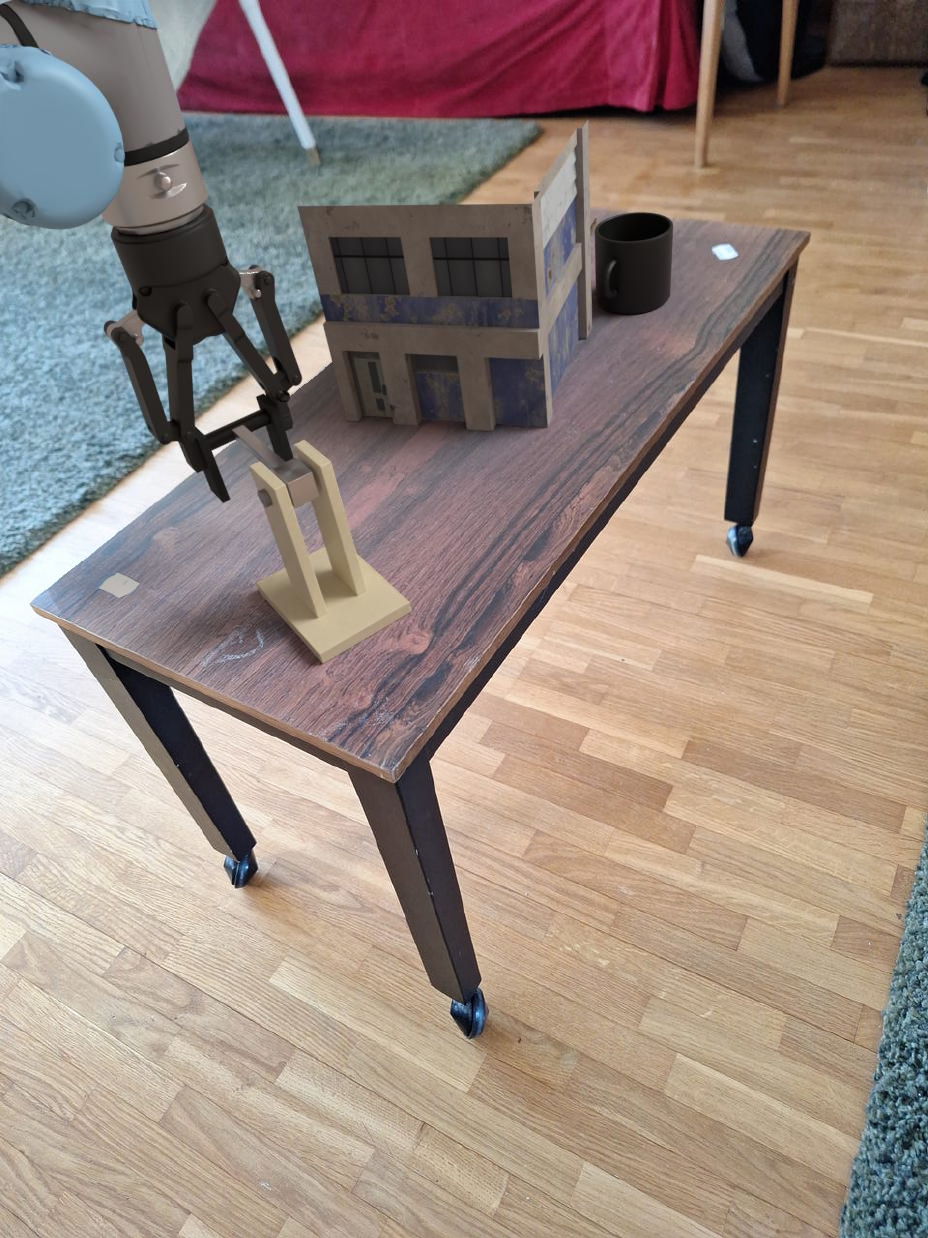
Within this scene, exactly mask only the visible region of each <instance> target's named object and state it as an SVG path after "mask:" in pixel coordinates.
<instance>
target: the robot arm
mask: <svg viewBox="0 0 928 1238" xmlns="http://www.w3.org/2000/svg"><path fill="white" fill-rule="evenodd" d="M158 30H159V28H158V23H157V21H156V19H155V18H154V15H153V12H152V10H151V6H150V4H149V2H148V0H8V1H5V2H4V1H3V2H1V3H0V216H3V217H4V218H7V219H9V220H12V221H14V222H16V223H18V224H20V225H23V226H24V225H25V226H32V227H37V228H41V229H46V230H57V231H59V230H70V229H74V228H78V227H82V226H84V225H86V224H88V223H91V222H92V221H93V220H95V219H96V218H98V217H99V216H100V215H101V216H102V219H103V221H104V222H105V223H106V224H108V225H110V226H112V227H111V228H112V229H111V232H110V238H111V241H112V244H113V246H114V249H115V251H116V253H117V256H118V258H119V261H120V263H121V266H122V269H123V271H124V273H125V276H126V278H127V280H128V283H129V286H130V288H131V293H132V296H131V297H132V299H131V308H132V310H130V311H129V312H127V313H126V314H125V315H124V316H123V317H121V318H120V319H118V320H117V321H116V320H112V319H111V320H107V321H105V322H104V324H103V326H102V327H103V328H102V329H103V332H104V333H105V335H106V336H107V337H108V339H109V340H110V341H111V342H112V343H113V344H114V345H115V347H116V348H117V349H118V351H119V352H120V356H121V358H122V360H123V364H124V366H125V369H126V372H127V376H128V377H129V381H130V384H131V386H132V389H133V392H134V395H135V398H136V400H137V404H138V406H139V408H140V412H141V414H142V417H143V419H144V423H145V426H146V428H147V430H148V432H149V433H150V434H151V436H153V437H154V438H155V439H156V441H158V442H159V444H161V445H163V446H166V445H169V444H171V443H172V442H178V445H179V448H180V450H181V452H182V454H183V457H184V459H185V462H186V464H187V465H188V466H189V467H190V468H191V469H192V470H193V471H194V472H195V473H196V474H199V473H202V472H203V476H204V477H205V479H206V483H207V484H208V487H209V489H210V492H211V493H213V495H215V496H216V497H217V499H218V500H219V501H221V503H222V504H224V503H227V502H229V501H230V500H231V497H230V494H229V491H228V489H227V486H226V484H225V481H224V478H223V476H222V472H221V471H220V469H219V466H218V463H217V460H216V458H215V455H214V453H213V451H212V450H211V448H210V445H209V442H208V440H207V437H206V436H205V434H204V433H203V432H202V431H201V430H200V429H199V428H198V427H197V426H196V419H195V418H196V417H195V415H196V414H195V400H194V381H193V361H194V357H195V356H194V353H195V351H194V346H196V345H198V344H201V342H202V341H204V340H205V339H207V338H210V337H212V338H213V337H218V336H220V335H222V336H223V338H224V339H225V341H226V342H227V344H228V345H229V346H230V348H231V349H232V350H233V352H234V353H235V354H236V356H237V357H238V358H239V359H240V361H241V362H242V364H243V365H244V367H245V368H246V369H247V370H248V372H249V373H250V374H251V376H252V377H253V379H254V380H255V382H256V383H257V384H258V385H259V387H260V388H261V390H262V391H264V393H261V394H259V395H256V396H255V399H256V402H257V405H258V408H259V410H260V409H262V408H264V409H265V410H266V411H267V412H268V414H269V416H270V419H271V424H269V425H267V426H265V430H266V432H267V435H268V439H269V441H270V444H271V447H272V451H273V452H275V453H276V454H277V455H278V456H279V457H280V458H281V459H282V460H284V461H285V462H287V461H289V460H291V459H293V458H295V456H294V454H293V450H292V447H291V444H290V441H289V437H288V434H287V432H288V431H290V430H292V429H294V420H293V416H292V414H291V410H290V407H289V404H288V403H289V401H290V400H291V394H290V392H289V390H291V389H292V387H297V386H300V385H301V383H302V382H303V375H302V373H301V370H300V366H299V364H298V361H297V358H296V356H295V353H294V351H293V350H294V349H293V347H292V345H291V342H290V339H289V336H288V333H287V331H286V326H285V325H284V322H283V319H282V317H281V314H280V311H279V309H278V306H277V303H276V280H275V279H276V278H275V276H274V275H273V274H272V273H271V272H269V271H268V270H266V269H264V268H263V267H261V266H260V265H257V264H251V265H250V266H248V268H247V269H237V268H235V267H234V266H233V264H232V263H231V261H230V260H229V258H228V253H227V250H226V246H225V244H224V240H223V237H222V234H221V231H220V228H219V225H218V221H217V218H216V214H215V212H214V209H213V208H212V207H210V206H209V205H208V204H206V203H205V202H206V201H207V199H208V196H209V194H208V191H207V188H206V184H205V182H204V178H203V175H202V172H201V169H200V166H199V163H198V159H197V156H196V153H195V149H194V146H193V144H192V140H191V137H190V134H189V131H188V128H187V126H186V123H185V120H184V116H183V113H182V110H181V107H180V103H179V100H178V97H177V93H176V89H175V86H174V83H173V79H172V76H171V73H170V70H169V67H168V62H167V60H166V55H165V53H164V49H163V46H162V43H161V39H160V36H159V33H158ZM240 289H242V292H243V294H244V295H245V296H247V297H248V299H249V302H250V304H251V307H252V310H253V312H254V315H255V318H256V320H257V323H258V326H259V329H260V331H261V333H262V336H263V339H264V342H265V344H266V347H267V349H268V350H267V351H268V352H269V355H270V357H271V360H272V362H273V365H274V367H275V371H276V372H275V373H274V372H273V370H272V369H271V367H270V366H269V365H268V364H267V362H266V360H265V359H264V358H263V357H262V354H260V352H259V351H258V350H257V348H256V347H255V346H254V344H253V343H252V341H251V339H250V338H249V337H248V336H247V333H246V331H245V330H244V329H245V328H243V326H242V325H241V324H240V322H239V321H238V320H237V318H236V317H235V314H234V310H235V307H236V303H237V301H238V296H239V293H240ZM145 325H147V326H148V327H150V328H152V329H153V330H155V331H156V332H158V333H160V334H161V340H162V341H161V344H162V349H163V351H164V356H165V369H166V370H165V372H166V382H167V383H166V385H167V398H168V411H169V412H168V413H169V420H168V418H167V415H166V412H165V409H164V406H163V403H162V400H161V396H160V394H159V391H158V389H157V385H156V382H155V379H154V376H153V373H152V370H151V368H150V364H149V361H148V359H147V356H146V355H145V353H144V351H143V349H142V348H141V346H142V345H143V344H144V341H145V337H144V334H143V331H142V330H143V327H144V326H145Z"/></svg>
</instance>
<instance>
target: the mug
mask: <svg viewBox="0 0 928 1238" xmlns="http://www.w3.org/2000/svg"><path fill="white" fill-rule="evenodd" d="M673 242H674V223H673V221H672V219H670V218H669V217H667V216H665V215H663V214H660V213H655V212H647V211H646V212H645V211H637V212H626V213H621V214H616V215H614V216H613V215H612V216H610V217H608V218H606V219H603V220H601V221H600V222H599V223H598V224H596V225H595V227H594V266H595V267H594V268H595V271H594V274H595V278H594V279H595V301H596V303H597V305H598V306H599V307H600V308H602V309H603V310H605V311H608V312H610V313H613V314H623V315H633V314H642V313H648V312H651V311H655V310H657V309H659V308H660V307H662V306H664V305H665V304H666V303H667V302H668V300H669V298H670V296H671V289H672V286H671V285H672V267H673V266H672V263H673V244H674V243H673Z"/></svg>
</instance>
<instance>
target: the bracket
mask: <svg viewBox="0 0 928 1238" xmlns="http://www.w3.org/2000/svg"><path fill="white" fill-rule="evenodd" d="M293 447H294V450H295V453H296V456H297V457H296V458H297V459H298V460H299V461H300V462H302V463H303V464H304V465H305V466H306V467H307V468H309V469H310V470H311V471H312V472H313V476H314V479H315V482H316V486H317V489H318V492H319V497H317V498H316V499H314V500H312V501H310V502H311V505H312V508H313V509H312V510H313V511H314V516H315V519H316V521H317V524H318V528H319V531H320V535H321V537H322V541H323V544H324V546H323V547H321V548H319V549H317V550H315V551H313V552H311V553H309V552H308V548H307V545H306V542H305V539H304V536H303V533H302V531H301V527H300V524H299V522H298V518H297V515H296V513H295V510H294V509H295V508H294V506H293V505H292V503H291V500H290V497H289V494H288V491H287V488H286V485H285V484H284V483H283V482H282V481H281V480H280V479H279V478H278V477H277V476H276V475H275V474H273V473H272V472H271V471H270V470H269V469H268V468H267V467H266V466H265V465H264V464H262V463H261V462H260V461H257V462H255V463H252V464H250V465H248V466H249V470H250V474H251V475H252V479H253V481H254V484H255V487H256V490H257V497H258V499H259V500H260V502H261V504H262V507H263V509H264V512H265V515H266V517H267V521H268V524H269V526H270V530H271V532H272V534H273V535H272V536H273V537H274V541H275V543H276V546H277V548H278V551H279V554H280V557H281V560H282V563H283V565H284V567H283V568H281V569H279V570H277V571H275V572H274V573H271V574H270V575H268V576H266V577H265V578H262V579H261V580H259V581H257V582H256V583H255V584H256V587H257V590H258V592H259V593H260V595H261V596H262V597H263V598H264V599H265V600H266V602H267V603H268V604H269V605H270V606H271V607H272V608H273V609H274V610H275V612H276V614H278V615H279V617H281V619H282V620H283V621H284V622H285V623H286V624H287V625H288V627H290V629H291V630H292V631H293V632H294V633H295V634H296V635H297V636H298V638H299V639H300V640H301V641H302V642H303V643H304V644H305V646H306V647H307V648H308V649H309V650H310V651H311V652H312V653H313V655H314V656H315V657H316V659H318V661H320V662H321V664H323V665H324V664H325V663H327V662H329V661H330V660H333V659H334V658H335V657H337V656H339V655H341V654H342V653H344V652H346V651H348V650H349V649H351V648H352V647H354V646H356V645H358V644H360V643H361V642H363V641H364V640H366V639H368V638H370V637H372V636H373V635H375V634H376V633H378V632H380V631H381V630H383V629H385V628H386V627H389V626H390V625H391V624H393V623H395V622H396V621H399V620H401V619H402V618H404V617H405V616H407V615H408V614H410V613H412V607H411V601H409V600H408V599H407V598H406V597H405V596H403V594H401V592H400V591H398V589H396V588H395V587H394V586H393V585H392V584H391V583H390V582H388V580H386V579H385V578H384V577H383V576H382V575H381V574H380V573H379V572H378V571H376V570H375V568H373V566H371V565H370V564H369V563H368V562H367V561H366V560H365V559H363V558H362V557H361V556H360V555H359V554H358V553H357V549H356V547H355V543H354V540H353V535H352V532H351V529H350V525H349V522H348V518H347V515H346V510H345V507H344V503H343V500H342V496H341V492H340V489H339V486H338V482H337V477H336V475H335V472H334V467H333V463H332V461H331V460H329V458H328V457H326V456H324V455H323V453H321V452H320V451H318V450H317V449H316V448H315V447H314V446H313V445H311V444H310V443H309V442H308V441H306V440H305V439H303V440H301V441H299V442H297V443H295V444H293Z"/></svg>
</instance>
